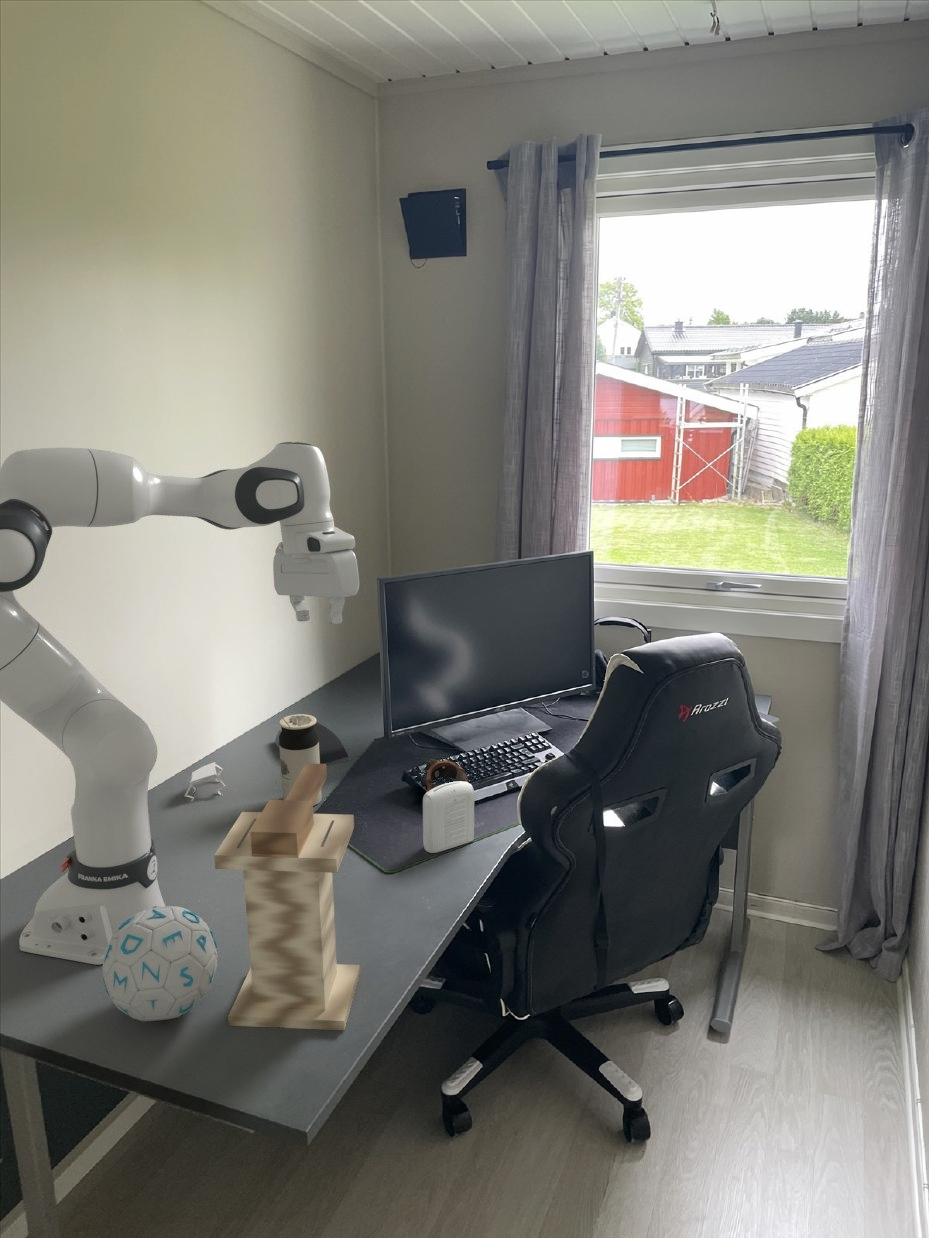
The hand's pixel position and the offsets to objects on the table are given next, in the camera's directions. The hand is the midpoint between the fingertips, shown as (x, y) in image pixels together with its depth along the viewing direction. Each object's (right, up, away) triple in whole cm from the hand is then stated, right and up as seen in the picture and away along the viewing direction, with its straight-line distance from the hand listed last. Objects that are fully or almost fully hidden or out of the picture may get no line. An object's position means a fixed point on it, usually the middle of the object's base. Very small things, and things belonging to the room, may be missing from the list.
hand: (319, 622), depth 153 cm
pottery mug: (+20, -37, +40) cm, 58 cm away
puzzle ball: (-17, -54, -26) cm, 63 cm away
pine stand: (+1, -54, -24) cm, 59 cm away
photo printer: (+22, -42, +18) cm, 51 cm away
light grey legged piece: (-30, -37, +41) cm, 62 cm away
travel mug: (-9, -38, +36) cm, 53 cm away
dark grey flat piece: (-12, -31, +61) cm, 70 cm away
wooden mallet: (+1, -27, -25) cm, 37 cm away
